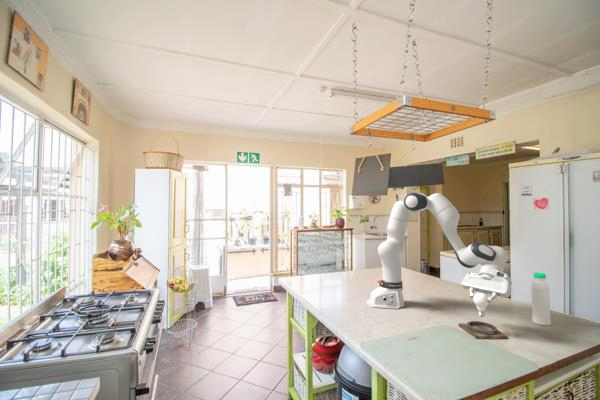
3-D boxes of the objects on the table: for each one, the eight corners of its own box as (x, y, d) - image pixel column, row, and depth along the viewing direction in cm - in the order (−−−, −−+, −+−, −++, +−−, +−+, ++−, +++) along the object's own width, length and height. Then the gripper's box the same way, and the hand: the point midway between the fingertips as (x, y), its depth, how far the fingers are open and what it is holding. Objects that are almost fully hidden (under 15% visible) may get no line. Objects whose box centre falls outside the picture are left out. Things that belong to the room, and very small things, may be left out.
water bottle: (546, 327, 135) (544, 275, 136) (529, 322, 142) (527, 272, 143) (553, 324, 138) (551, 273, 140) (536, 319, 145) (534, 271, 146)
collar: (477, 334, 125) (476, 331, 125) (462, 324, 136) (462, 321, 136) (503, 334, 125) (503, 331, 125) (486, 324, 136) (486, 321, 136)
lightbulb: (489, 320, 126) (489, 295, 127) (473, 317, 130) (472, 293, 130) (489, 316, 132) (488, 292, 132) (473, 313, 135) (472, 290, 136)
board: (476, 338, 124) (475, 336, 124) (458, 325, 138) (458, 323, 138) (507, 338, 123) (507, 336, 123) (487, 325, 137) (487, 323, 137)
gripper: (464, 268, 144) (455, 290, 139) (511, 275, 127) (502, 301, 121) (469, 275, 146) (460, 297, 141) (516, 283, 129) (507, 309, 123)
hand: (480, 299), depth 131 cm, fingers closed on lightbulb, 6 cm apart
